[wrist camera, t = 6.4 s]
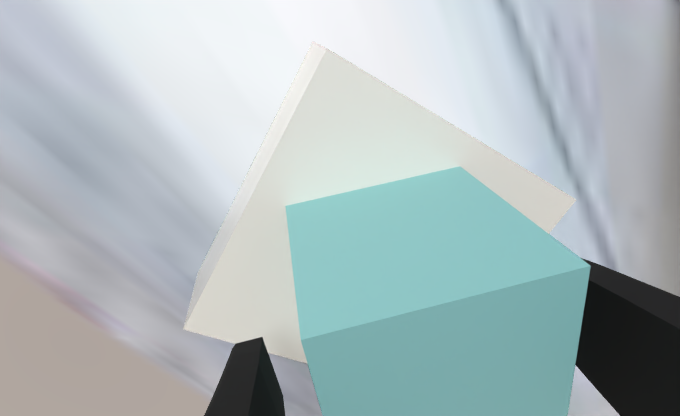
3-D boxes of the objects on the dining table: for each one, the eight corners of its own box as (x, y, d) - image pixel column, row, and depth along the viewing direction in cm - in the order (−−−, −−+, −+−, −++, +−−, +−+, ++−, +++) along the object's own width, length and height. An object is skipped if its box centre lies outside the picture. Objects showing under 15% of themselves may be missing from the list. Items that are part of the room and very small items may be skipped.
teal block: (459, 166, 11) (590, 266, 7) (463, 302, 13) (562, 443, 9) (285, 206, 11) (300, 339, 6) (320, 339, 13) (348, 506, 9)
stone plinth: (520, 167, 15) (576, 199, 12) (394, 337, 18) (418, 394, 15) (312, 40, 12) (326, 48, 9) (198, 272, 15) (183, 329, 12)
